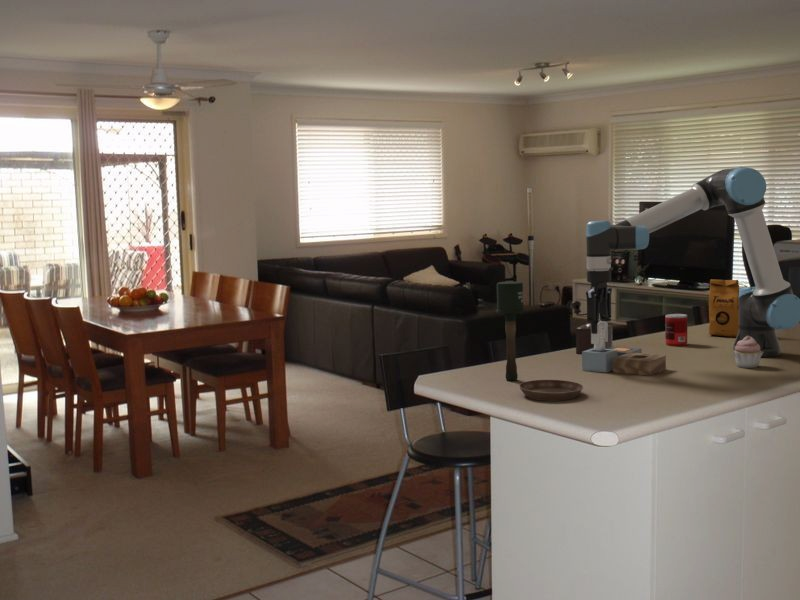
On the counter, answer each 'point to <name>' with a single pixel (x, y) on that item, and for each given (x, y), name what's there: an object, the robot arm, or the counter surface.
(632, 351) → the housing
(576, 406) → the counter surface
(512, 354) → the potato masher grenade
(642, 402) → the counter surface
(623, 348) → the orange square block
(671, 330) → the canned food
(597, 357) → the blue square collar
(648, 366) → the socket block
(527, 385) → the plant saucer
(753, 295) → the robot arm
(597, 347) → the peg
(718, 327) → the coffee package
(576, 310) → the manual coffee grinder
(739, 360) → the cupcake
